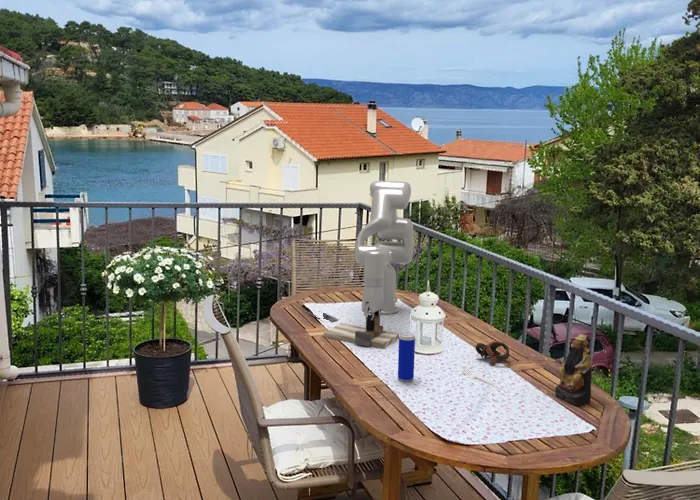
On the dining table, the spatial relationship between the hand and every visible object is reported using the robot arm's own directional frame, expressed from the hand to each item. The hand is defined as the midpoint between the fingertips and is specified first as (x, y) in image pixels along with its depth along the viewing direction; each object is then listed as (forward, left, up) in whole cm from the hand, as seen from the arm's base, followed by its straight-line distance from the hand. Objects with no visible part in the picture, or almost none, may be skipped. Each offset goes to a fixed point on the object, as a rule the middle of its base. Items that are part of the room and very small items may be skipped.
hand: (372, 327), depth 244 cm
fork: (+19, +50, -6) cm, 54 cm away
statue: (+19, +78, -5) cm, 80 cm away
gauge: (+1, 0, -4) cm, 5 cm away
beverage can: (+30, +27, -5) cm, 41 cm away
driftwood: (-18, -34, -6) cm, 39 cm away
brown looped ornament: (-1, +47, -5) cm, 47 cm away
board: (0, -5, -5) cm, 7 cm away
